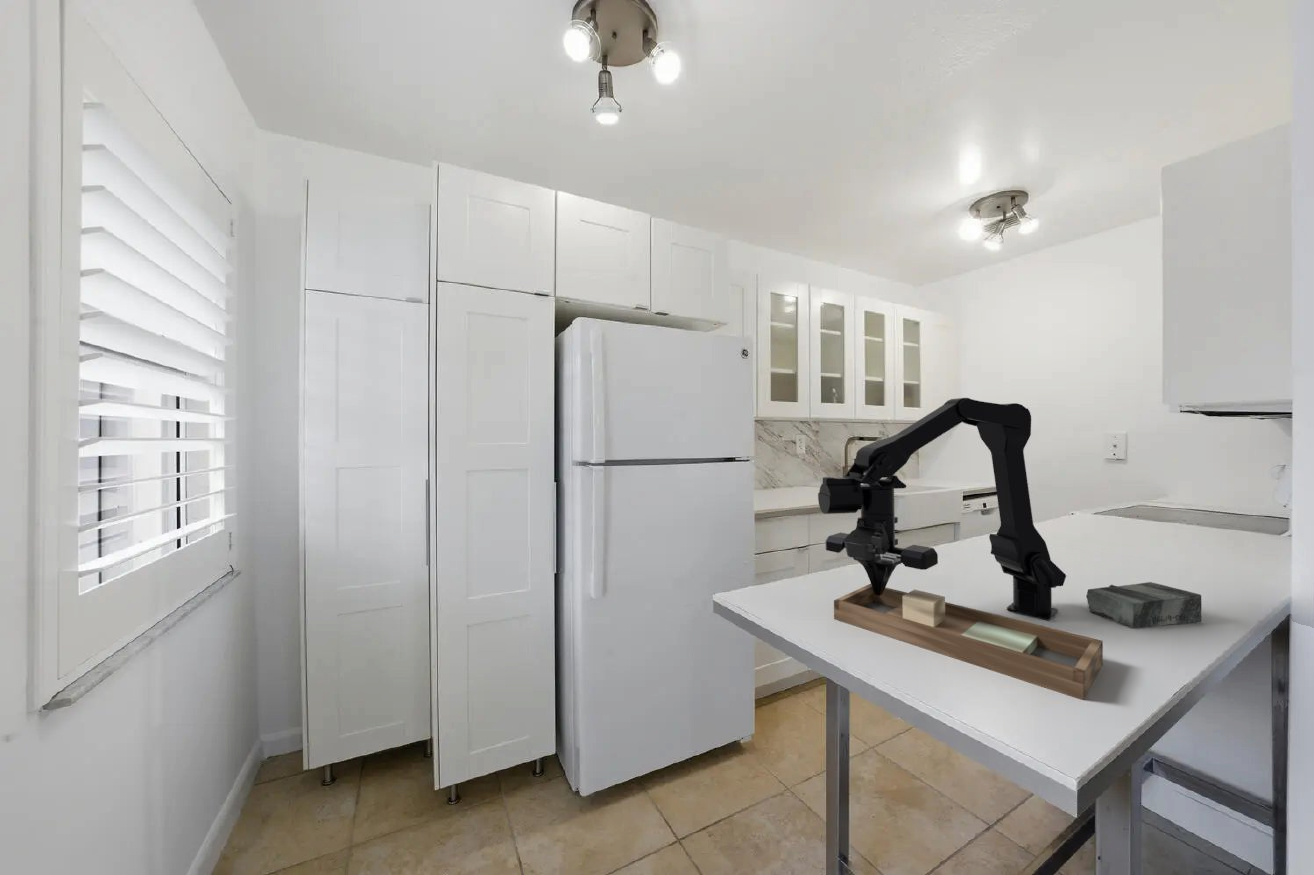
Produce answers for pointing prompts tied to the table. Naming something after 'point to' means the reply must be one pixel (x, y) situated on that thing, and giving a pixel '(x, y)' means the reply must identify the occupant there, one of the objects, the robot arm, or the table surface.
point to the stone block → (1145, 605)
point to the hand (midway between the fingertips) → (878, 594)
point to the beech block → (924, 607)
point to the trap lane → (983, 640)
